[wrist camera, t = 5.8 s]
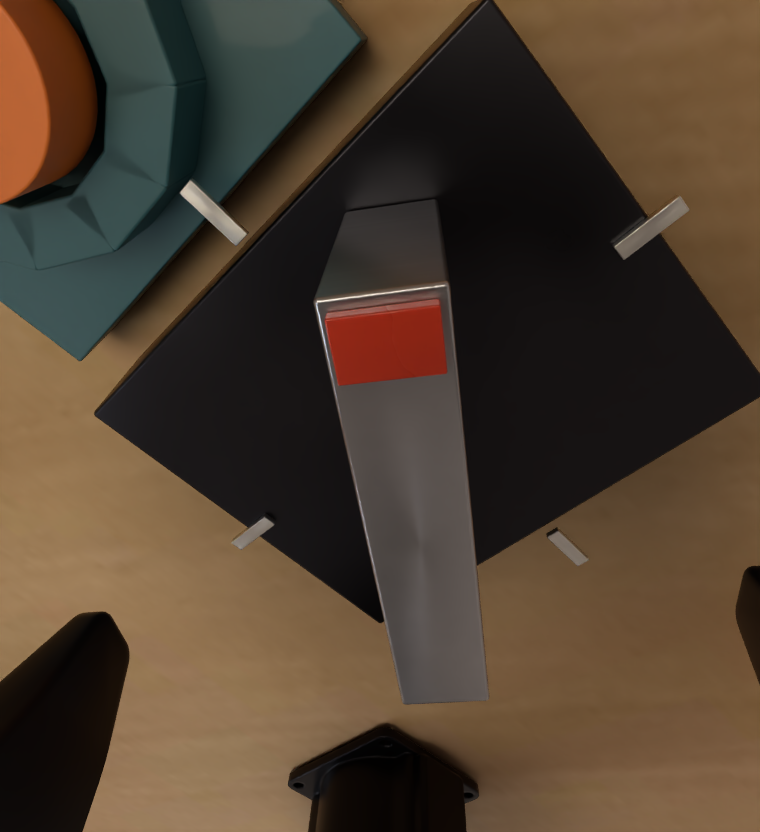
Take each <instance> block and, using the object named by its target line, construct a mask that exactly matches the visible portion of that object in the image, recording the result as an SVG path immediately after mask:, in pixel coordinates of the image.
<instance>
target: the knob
mask: <svg viewBox="0 0 760 832" xmlns="http://www.w3.org/2000/svg"><path fill="white" fill-rule="evenodd" d="M313 303H314V307H315V312H316V316H317V321H318V325H319V330H320V334H321V339H322V343H323V348H324V352H325V357H326V361H327V366H328V370H329V375H330V379H331V384H332V388H333V393H334V397H335V402H336V406H337V411H338V415H339V420H340V424H341V429H342V433H343V438H344V442H345V447H346V451H347V456H348V460H349V465H350V469H351V474H352V478H353V483H354V487H355V492H356V496H357V501H358V505H359V510H360V514H361V519H362V523H363V528H364V532H365V537H366V541H367V546H368V550H369V555H370V559H371V564H372V568H373V573H374V577H375V582H376V586H377V591H378V595H379V600H380V604H381V609H382V613H383V618H384V622H385V627H386V631H387V636H388V640H389V645H390V649H391V654H392V658H393V663H394V667H395V672H396V676H397V681H398V685H399V690H400V694H401V698H402V702H403V704H425V703H446V702H467V701H486V700H488V699H489V687H488V677H487V666H486V656H485V645H484V635H483V624H482V614H481V603H480V593H479V582H478V572H477V561H476V551H475V540H474V530H473V519H472V509H471V498H470V488H469V477H468V466H467V456H466V445H465V435H464V424H463V414H462V403H461V393H460V382H459V372H458V361H457V351H456V340H455V330H454V319H453V309H452V298H451V288H450V280H449V273H448V266H447V260H446V253H445V246H444V239H443V232H442V226H441V219H440V212H439V205H438V202H437V200H435V199H432V200H425V201H418V202H411V203H404V204H398V205H391V206H384V207H377V208H370V209H363V210H356V211H350V212H346V213H345V215H344V217H343V220H342V223H341V226H340V229H339V231H338V234H337V237H336V240H335V242H334V245H333V248H332V251H331V253H330V256H329V259H328V262H327V265H326V267H325V270H324V273H323V276H322V278H321V281H320V284H319V287H318V289H317V292H316V295H315V298H314V302H313Z"/></svg>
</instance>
